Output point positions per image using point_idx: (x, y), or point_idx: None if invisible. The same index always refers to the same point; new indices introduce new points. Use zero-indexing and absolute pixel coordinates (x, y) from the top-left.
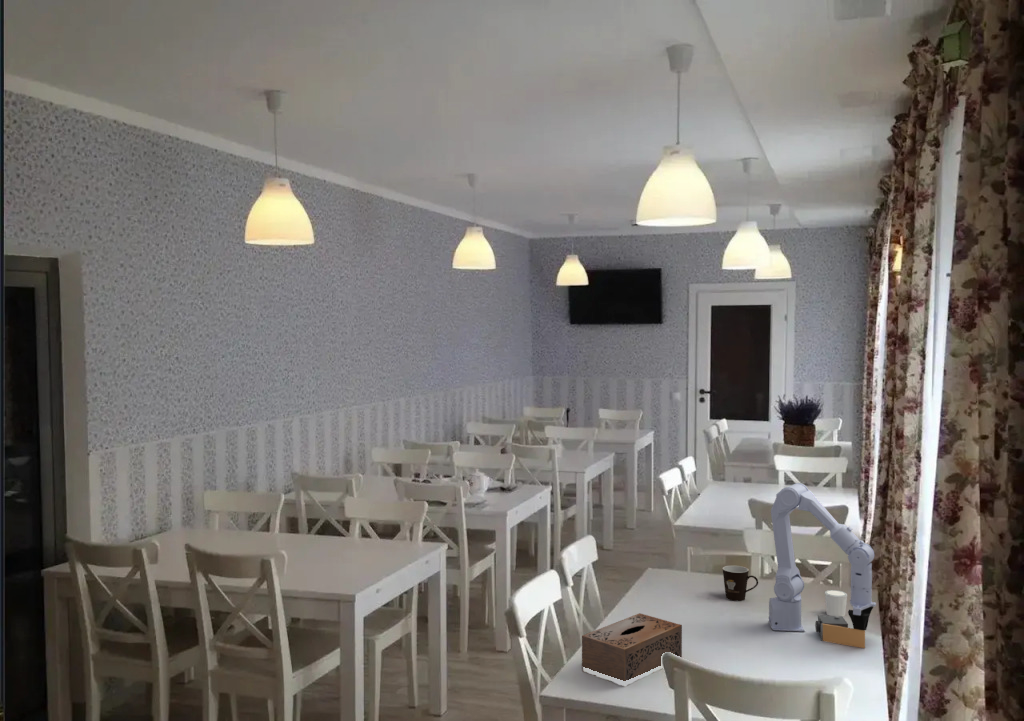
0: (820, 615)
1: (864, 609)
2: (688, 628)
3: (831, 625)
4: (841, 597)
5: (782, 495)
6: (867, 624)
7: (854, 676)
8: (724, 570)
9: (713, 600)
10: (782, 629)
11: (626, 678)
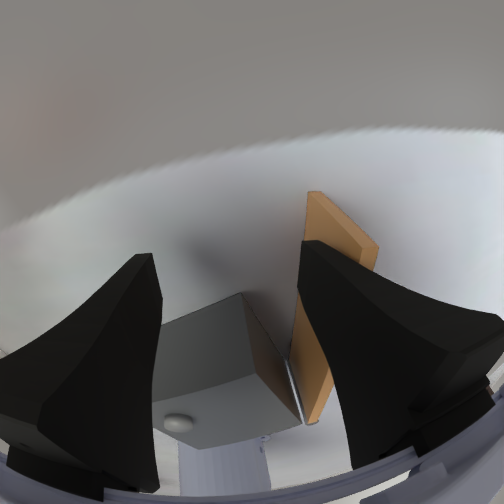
0: (193, 447)
1: (111, 433)
2: (320, 462)
3: (324, 402)
4: None
5: None
6: (126, 272)
7: None
8: None
9: (160, 479)
10: None
11: (490, 389)
